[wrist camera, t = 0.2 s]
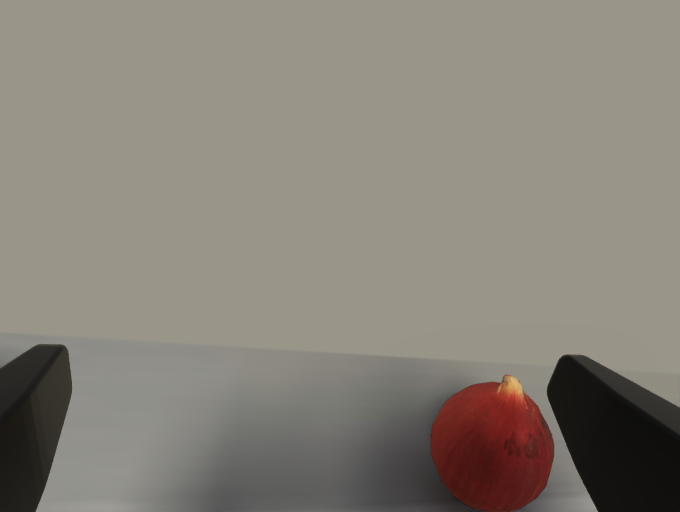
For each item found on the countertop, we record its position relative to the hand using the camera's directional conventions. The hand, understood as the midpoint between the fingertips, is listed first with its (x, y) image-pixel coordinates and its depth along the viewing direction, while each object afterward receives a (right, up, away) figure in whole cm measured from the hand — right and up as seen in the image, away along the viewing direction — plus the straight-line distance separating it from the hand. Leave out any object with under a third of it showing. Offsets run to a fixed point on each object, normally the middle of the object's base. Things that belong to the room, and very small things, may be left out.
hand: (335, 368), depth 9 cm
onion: (+7, -11, +18) cm, 22 cm away
